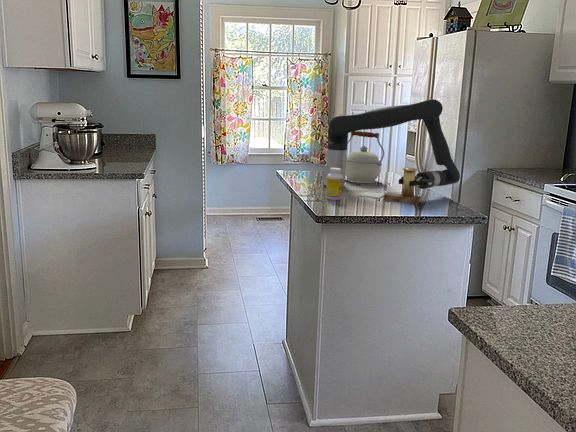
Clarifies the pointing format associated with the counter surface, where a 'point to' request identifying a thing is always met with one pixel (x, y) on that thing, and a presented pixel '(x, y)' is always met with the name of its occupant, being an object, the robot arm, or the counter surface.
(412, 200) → the brown flat block
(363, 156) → the kettle
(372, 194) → the pad
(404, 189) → the gold cylindrical canister
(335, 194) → the supplement bottle
